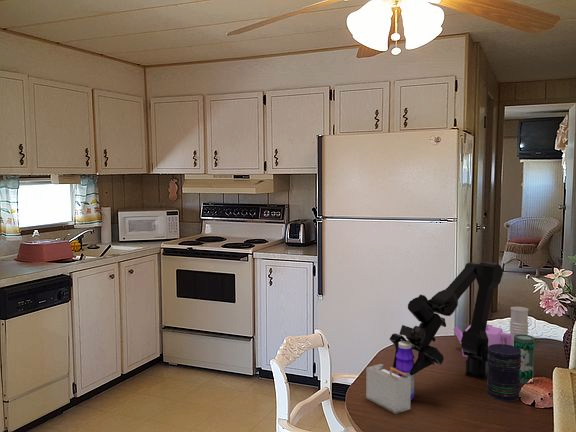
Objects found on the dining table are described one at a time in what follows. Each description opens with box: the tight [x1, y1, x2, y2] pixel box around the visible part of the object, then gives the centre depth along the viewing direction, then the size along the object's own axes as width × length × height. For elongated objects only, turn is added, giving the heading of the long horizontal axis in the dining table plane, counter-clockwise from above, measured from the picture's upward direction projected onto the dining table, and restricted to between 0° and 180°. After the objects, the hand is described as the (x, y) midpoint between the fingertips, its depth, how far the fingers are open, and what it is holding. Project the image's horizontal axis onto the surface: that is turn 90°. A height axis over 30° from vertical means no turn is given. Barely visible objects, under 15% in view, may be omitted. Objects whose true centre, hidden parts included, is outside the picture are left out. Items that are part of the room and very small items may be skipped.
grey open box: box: [365, 363, 411, 415], centre depth 165 cm, size 6×13×10 cm, turn 33°
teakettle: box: [452, 323, 513, 359], centre depth 207 cm, size 17×17×12 cm
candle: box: [509, 306, 530, 346], centre depth 218 cm, size 7×7×15 cm
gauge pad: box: [381, 367, 406, 378], centre depth 165 cm, size 2×11×10 cm, turn 32°
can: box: [514, 334, 536, 385], centre depth 182 cm, size 6×6×15 cm
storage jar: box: [486, 343, 521, 402], centre depth 171 cm, size 10×10×15 cm
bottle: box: [395, 340, 416, 401], centre depth 169 cm, size 7×6×17 cm
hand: (402, 371), depth 168 cm, fingers closed on bottle, 7 cm apart
